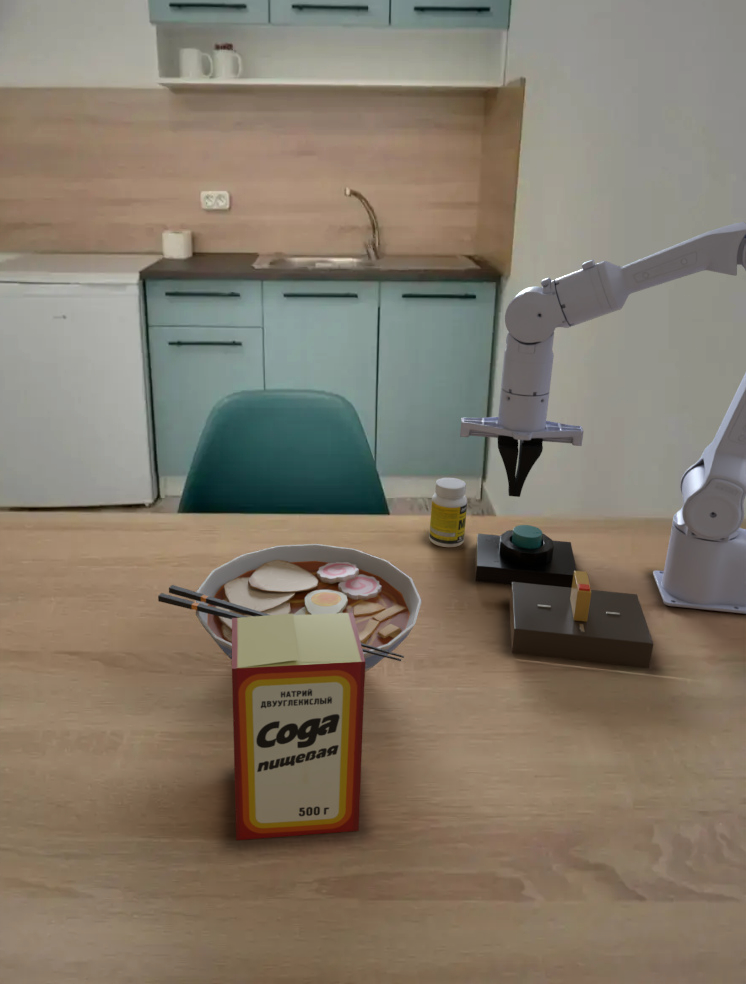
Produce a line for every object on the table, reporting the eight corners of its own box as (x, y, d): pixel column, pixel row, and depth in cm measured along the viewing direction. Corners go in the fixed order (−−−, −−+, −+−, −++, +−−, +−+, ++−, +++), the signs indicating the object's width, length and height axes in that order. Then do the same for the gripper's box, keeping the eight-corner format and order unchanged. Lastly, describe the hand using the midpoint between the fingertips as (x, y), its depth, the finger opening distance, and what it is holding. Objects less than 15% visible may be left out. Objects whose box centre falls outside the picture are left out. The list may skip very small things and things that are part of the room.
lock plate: (633, 616, 95) (637, 592, 94) (649, 668, 86) (653, 642, 85) (509, 603, 97) (511, 580, 96) (511, 652, 88) (514, 627, 87)
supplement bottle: (462, 550, 109) (467, 491, 107) (427, 546, 110) (431, 488, 107) (465, 534, 114) (469, 477, 111) (430, 530, 115) (434, 474, 112)
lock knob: (570, 598, 92) (574, 568, 91) (582, 600, 92) (587, 569, 91) (573, 620, 88) (578, 588, 87) (587, 622, 88) (591, 590, 87)
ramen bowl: (456, 632, 91) (462, 566, 88) (376, 765, 72) (380, 686, 69) (259, 580, 101) (258, 519, 98) (141, 684, 81) (135, 612, 78)
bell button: (540, 538, 105) (541, 526, 105) (541, 551, 102) (543, 538, 101) (511, 535, 106) (512, 523, 105) (512, 548, 102) (513, 536, 102)
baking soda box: (347, 771, 71) (353, 608, 65) (358, 830, 65) (365, 657, 59) (235, 778, 70) (231, 614, 64) (236, 840, 64) (231, 664, 58)
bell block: (568, 557, 108) (572, 529, 107) (575, 591, 100) (579, 562, 99) (476, 548, 110) (478, 520, 109) (475, 581, 102) (477, 552, 100)
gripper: (463, 394, 97) (454, 501, 101) (591, 403, 94) (576, 511, 99) (464, 378, 103) (456, 479, 108) (584, 386, 101) (571, 488, 106)
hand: (514, 493), depth 104 cm, fingers closed
